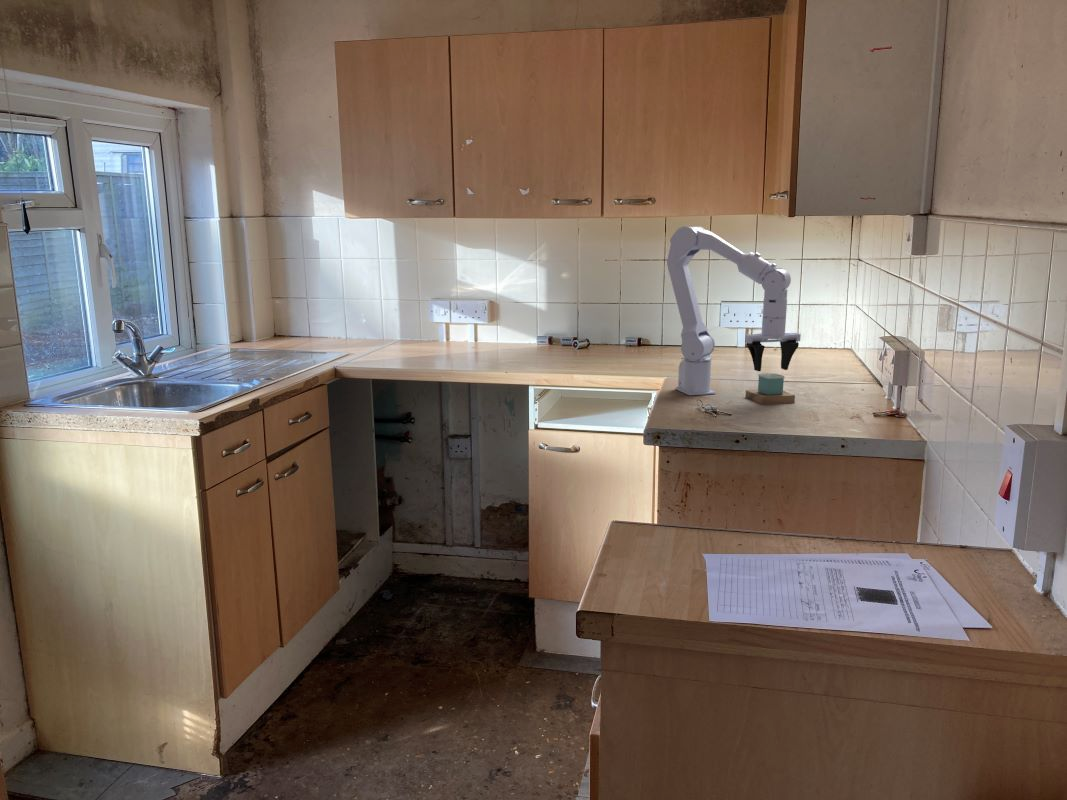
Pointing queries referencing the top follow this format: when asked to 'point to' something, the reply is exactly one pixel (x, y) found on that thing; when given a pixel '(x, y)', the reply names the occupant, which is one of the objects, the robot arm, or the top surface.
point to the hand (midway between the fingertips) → (770, 370)
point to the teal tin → (770, 383)
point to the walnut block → (770, 397)
